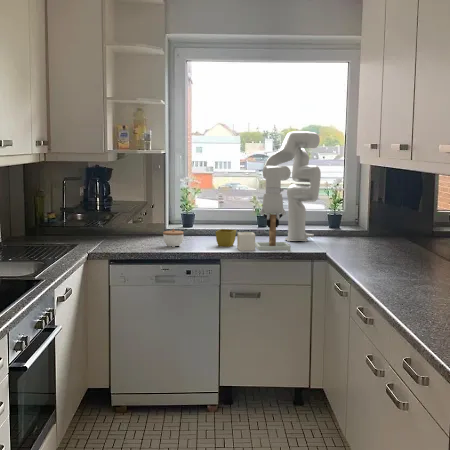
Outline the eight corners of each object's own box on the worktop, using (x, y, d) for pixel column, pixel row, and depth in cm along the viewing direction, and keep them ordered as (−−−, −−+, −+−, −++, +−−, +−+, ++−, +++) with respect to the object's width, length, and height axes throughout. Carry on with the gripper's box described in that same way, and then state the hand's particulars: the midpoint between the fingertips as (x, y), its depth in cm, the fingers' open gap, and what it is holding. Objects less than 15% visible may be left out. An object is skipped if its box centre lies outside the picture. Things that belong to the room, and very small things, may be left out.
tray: (285, 247, 334) (285, 241, 334) (290, 251, 321) (290, 246, 320) (254, 247, 333) (254, 242, 332) (259, 252, 319) (259, 246, 319)
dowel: (275, 245, 328) (275, 214, 326) (276, 246, 325) (276, 214, 323) (268, 245, 328) (268, 214, 326) (269, 246, 325) (270, 214, 323)
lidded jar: (185, 245, 341) (185, 227, 339) (181, 248, 330) (181, 230, 329) (165, 244, 342) (165, 227, 341) (161, 247, 331) (161, 229, 330)
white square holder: (252, 249, 326) (252, 232, 325) (255, 252, 318) (255, 234, 317) (237, 249, 325) (237, 232, 324) (239, 252, 317) (239, 234, 316)
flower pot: (231, 249, 327) (231, 231, 326) (215, 248, 330) (215, 231, 329) (236, 246, 335) (236, 229, 334) (220, 245, 338) (220, 229, 337)
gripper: (287, 190, 328) (287, 226, 330) (255, 190, 326) (255, 226, 328) (290, 191, 320) (290, 227, 323) (258, 191, 319) (257, 228, 321)
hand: (272, 226), depth 325 cm, fingers closed on dowel, 3 cm apart
